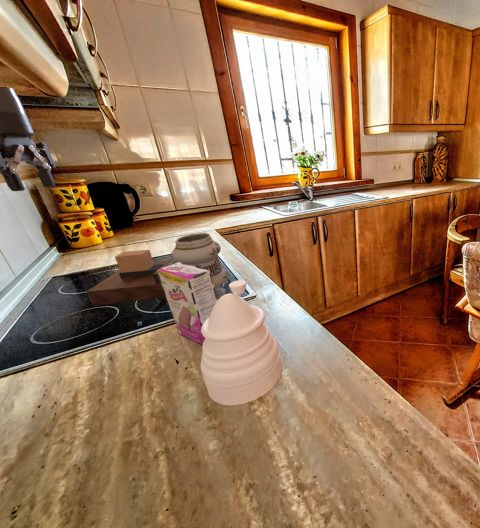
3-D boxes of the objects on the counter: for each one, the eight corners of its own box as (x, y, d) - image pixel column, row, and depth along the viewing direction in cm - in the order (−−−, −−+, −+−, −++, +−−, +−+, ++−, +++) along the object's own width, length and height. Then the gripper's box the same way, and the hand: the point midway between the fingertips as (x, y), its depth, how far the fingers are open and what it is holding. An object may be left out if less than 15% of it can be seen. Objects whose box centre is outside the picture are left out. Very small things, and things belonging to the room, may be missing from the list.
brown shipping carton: (120, 277, 80) (112, 257, 78) (129, 271, 84) (122, 251, 82) (158, 274, 82) (151, 253, 79) (165, 268, 86) (158, 248, 83)
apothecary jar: (179, 298, 80) (161, 238, 73) (221, 283, 88) (207, 228, 81) (195, 312, 72) (176, 247, 65) (239, 294, 80) (226, 235, 73)
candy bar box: (177, 335, 63) (155, 269, 57) (197, 324, 67) (179, 261, 61) (207, 349, 58) (187, 278, 52) (228, 336, 62) (211, 269, 56)
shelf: (94, 311, 75) (81, 281, 71) (134, 280, 93) (125, 255, 90) (167, 303, 77) (157, 273, 74) (192, 274, 96) (185, 250, 92)
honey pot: (261, 343, 59) (246, 265, 52) (295, 374, 50) (282, 286, 43) (197, 376, 51) (169, 289, 44) (223, 420, 42) (194, 319, 35)
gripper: (11, 116, 66) (42, 186, 72) (-61, 106, 53) (-15, 193, 59) (47, 115, 67) (75, 185, 73) (-14, 106, 54) (26, 191, 60)
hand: (35, 188), depth 66 cm, fingers open, 8 cm apart
